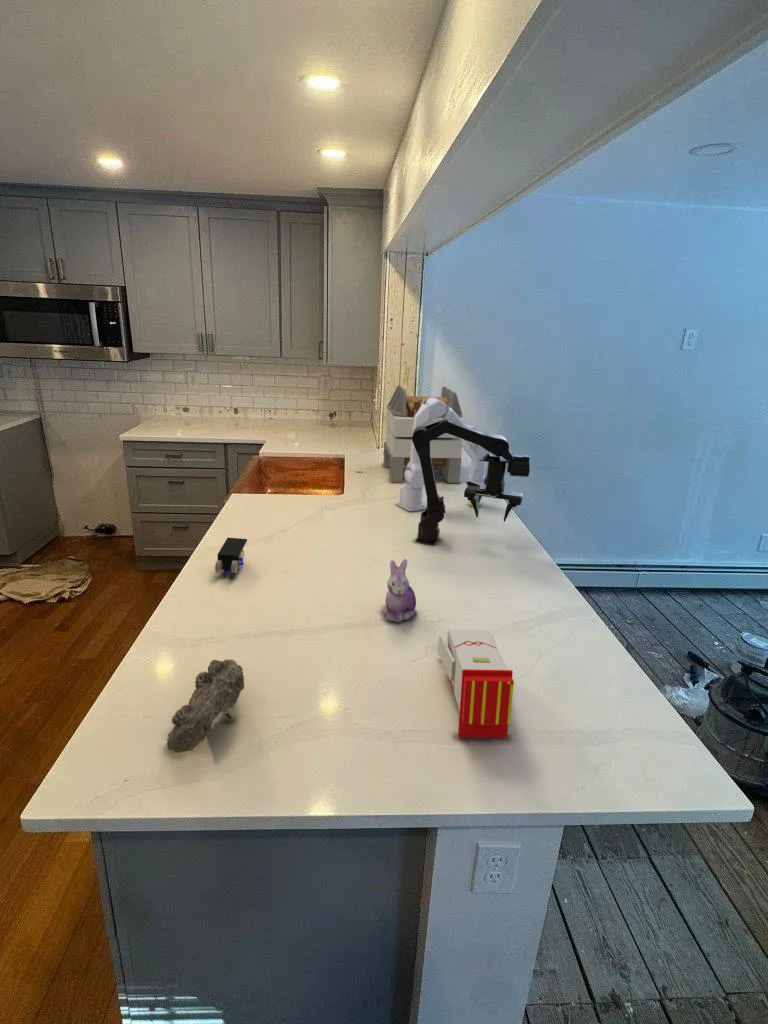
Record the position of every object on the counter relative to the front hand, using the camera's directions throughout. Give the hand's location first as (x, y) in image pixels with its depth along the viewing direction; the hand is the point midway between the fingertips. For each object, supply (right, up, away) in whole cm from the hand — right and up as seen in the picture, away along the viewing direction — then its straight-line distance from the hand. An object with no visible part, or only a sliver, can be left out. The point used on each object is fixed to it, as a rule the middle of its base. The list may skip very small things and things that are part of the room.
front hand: (490, 519), depth 191 cm
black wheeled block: (-81, -15, -23) cm, 85 cm away
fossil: (-69, -37, -83) cm, 114 cm away
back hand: (+1, +7, +41) cm, 42 cm away
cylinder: (+1, +6, +42) cm, 42 cm away
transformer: (-19, +21, +84) cm, 89 cm away
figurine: (-32, -24, -43) cm, 59 cm away
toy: (-18, -35, -72) cm, 82 cm away
